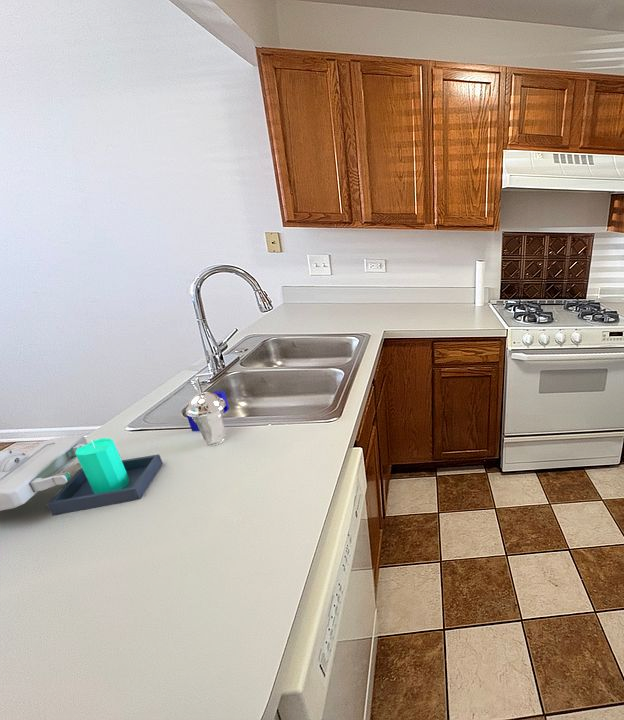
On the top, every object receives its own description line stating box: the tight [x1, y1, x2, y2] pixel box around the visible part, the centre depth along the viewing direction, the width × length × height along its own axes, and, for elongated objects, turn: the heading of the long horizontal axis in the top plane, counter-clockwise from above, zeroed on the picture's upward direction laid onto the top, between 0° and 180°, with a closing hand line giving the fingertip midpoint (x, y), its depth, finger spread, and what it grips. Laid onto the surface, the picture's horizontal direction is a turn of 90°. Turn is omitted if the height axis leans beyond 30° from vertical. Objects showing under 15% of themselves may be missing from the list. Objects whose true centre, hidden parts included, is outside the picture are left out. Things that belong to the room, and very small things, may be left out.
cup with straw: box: [185, 371, 227, 447], centre depth 99 cm, size 8×9×20 cm
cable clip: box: [186, 390, 230, 432], centre depth 112 cm, size 12×4×6 cm, turn 179°
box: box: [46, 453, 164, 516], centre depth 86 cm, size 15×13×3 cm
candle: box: [75, 437, 130, 494], centre depth 84 cm, size 6×6×12 cm
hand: (83, 463), depth 83 cm, fingers open, 8 cm apart
